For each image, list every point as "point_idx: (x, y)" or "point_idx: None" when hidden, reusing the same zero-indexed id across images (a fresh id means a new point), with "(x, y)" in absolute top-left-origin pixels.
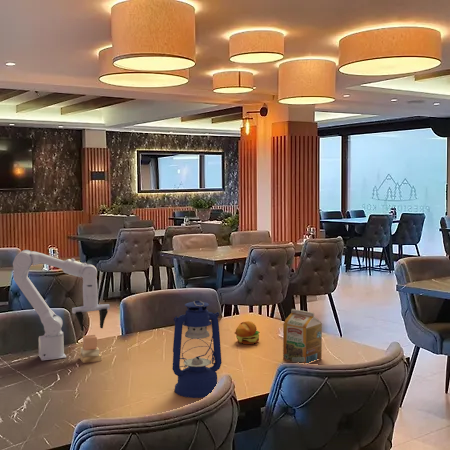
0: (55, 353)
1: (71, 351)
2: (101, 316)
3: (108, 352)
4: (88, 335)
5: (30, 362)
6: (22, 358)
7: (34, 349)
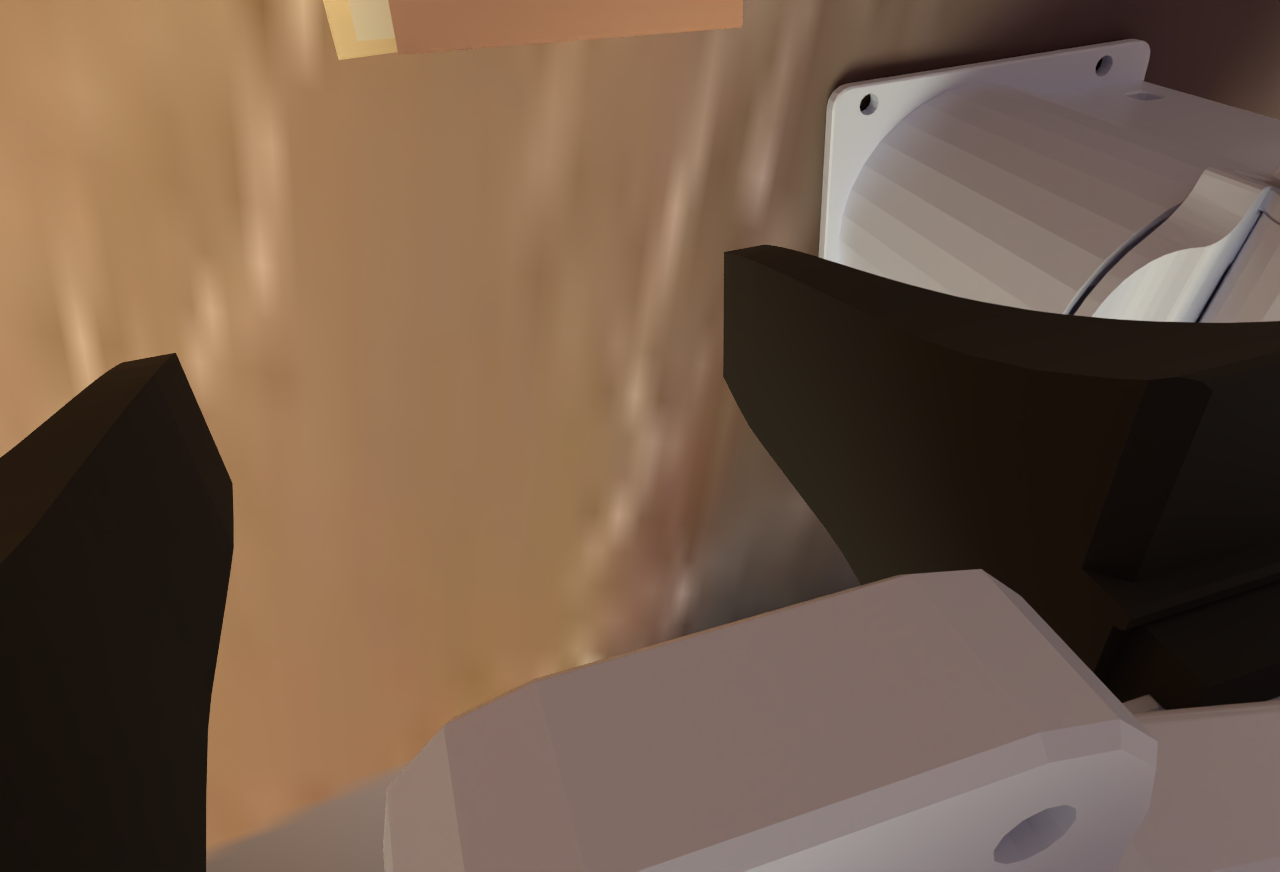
0: (1021, 96)
1: (700, 396)
2: (32, 640)
3: (126, 217)
4: (589, 21)
5: (1256, 30)
6: None
7: None
